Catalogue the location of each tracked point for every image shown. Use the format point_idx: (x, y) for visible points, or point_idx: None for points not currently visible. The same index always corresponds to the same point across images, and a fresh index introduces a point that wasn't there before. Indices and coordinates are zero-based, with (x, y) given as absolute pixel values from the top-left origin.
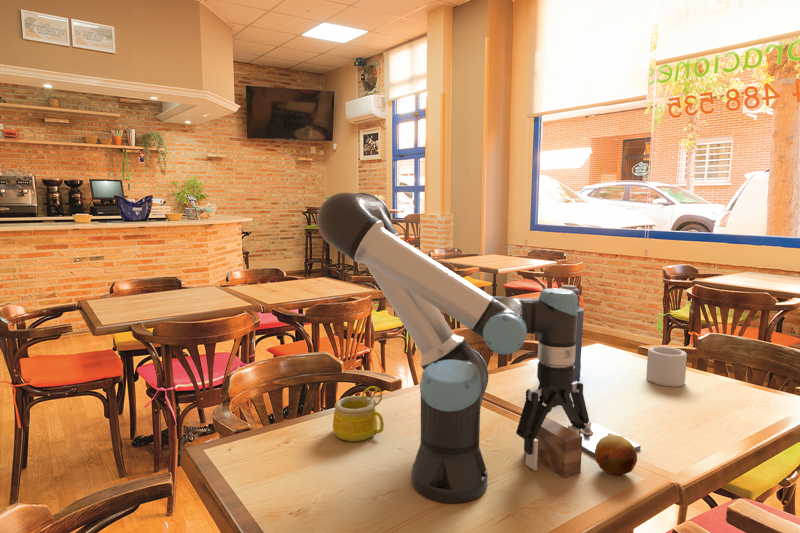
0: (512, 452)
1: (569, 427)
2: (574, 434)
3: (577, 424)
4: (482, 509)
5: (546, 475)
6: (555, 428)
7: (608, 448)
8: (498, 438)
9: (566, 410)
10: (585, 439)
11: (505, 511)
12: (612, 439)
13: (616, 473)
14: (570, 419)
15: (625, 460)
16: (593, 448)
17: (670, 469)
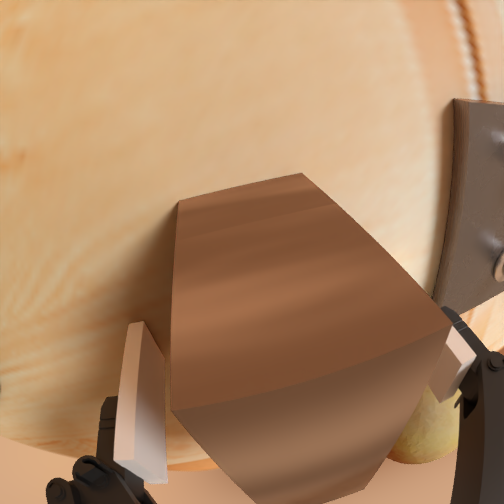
0: (100, 193)
1: (452, 367)
2: (351, 489)
3: (459, 419)
4: (7, 421)
5: None
6: (316, 484)
7: (396, 459)
8: (89, 4)
9: (467, 494)
10: (495, 205)
11: (49, 436)
12: (430, 460)
13: None
14: (477, 409)
15: None
16: (463, 274)
17: (486, 341)
